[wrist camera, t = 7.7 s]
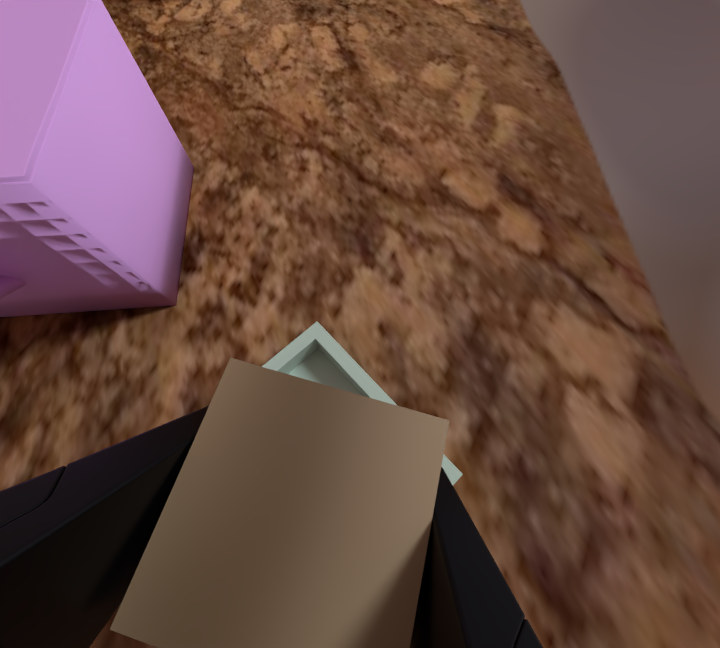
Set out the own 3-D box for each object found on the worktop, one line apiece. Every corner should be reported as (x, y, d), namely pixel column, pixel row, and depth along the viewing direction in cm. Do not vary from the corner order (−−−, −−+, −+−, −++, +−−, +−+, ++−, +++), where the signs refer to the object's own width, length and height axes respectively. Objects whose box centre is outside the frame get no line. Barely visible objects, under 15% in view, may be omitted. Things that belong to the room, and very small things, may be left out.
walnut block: (397, 441, 15) (449, 420, 7) (369, 566, 14) (394, 735, 5) (295, 410, 16) (230, 357, 8) (254, 528, 14) (109, 629, 6)
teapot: (202, 110, 31) (92, -140, 18) (168, 373, 22) (-106, 252, 9) (32, 117, 30) (-210, -138, 17) (-76, 392, 21) (-762, 290, 8)
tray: (450, 472, 20) (462, 474, 18) (295, 647, 17) (285, 678, 14) (320, 335, 23) (317, 321, 21) (169, 461, 20) (144, 462, 18)
